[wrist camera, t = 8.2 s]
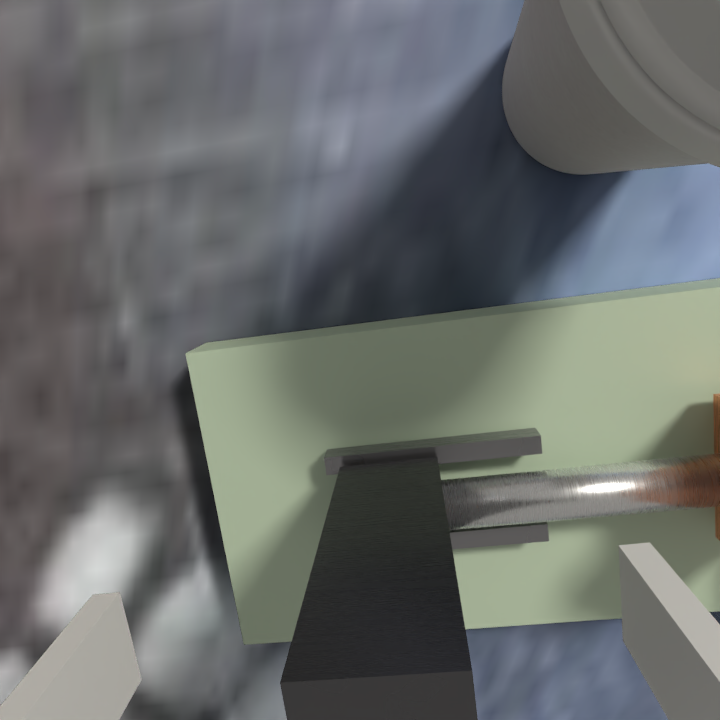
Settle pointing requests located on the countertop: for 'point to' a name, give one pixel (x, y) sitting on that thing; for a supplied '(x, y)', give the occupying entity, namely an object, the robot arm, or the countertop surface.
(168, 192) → the countertop surface
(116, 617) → the robot arm
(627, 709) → the countertop surface
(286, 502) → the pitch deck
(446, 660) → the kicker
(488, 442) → the rail guide
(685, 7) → the coffee cup
